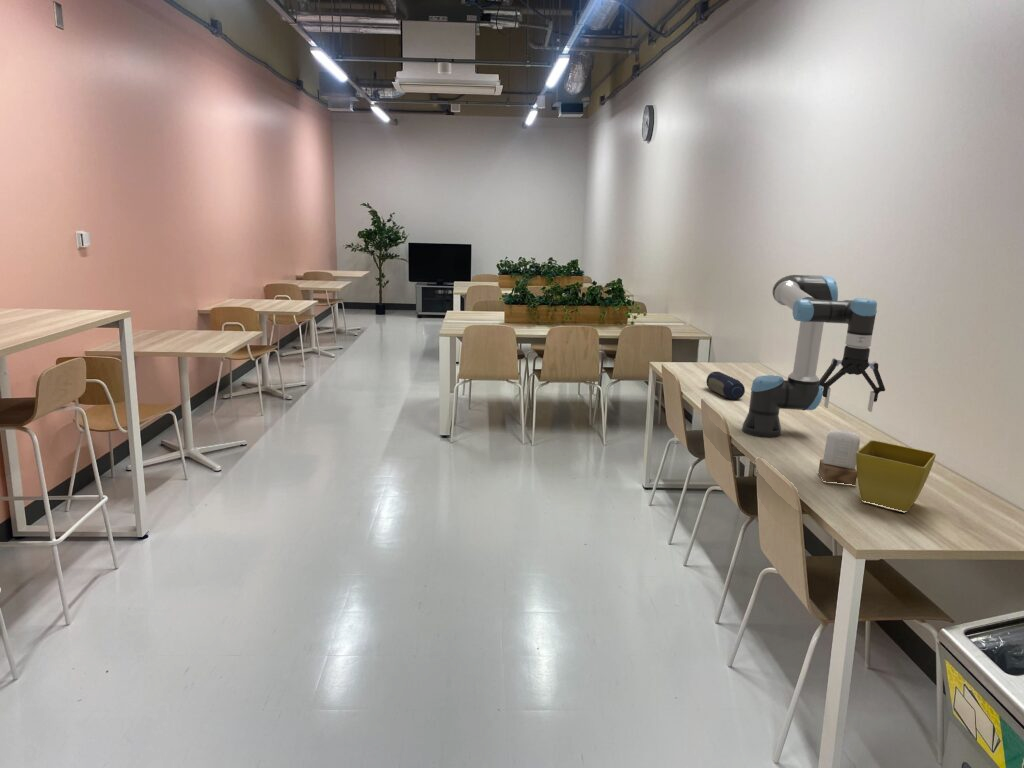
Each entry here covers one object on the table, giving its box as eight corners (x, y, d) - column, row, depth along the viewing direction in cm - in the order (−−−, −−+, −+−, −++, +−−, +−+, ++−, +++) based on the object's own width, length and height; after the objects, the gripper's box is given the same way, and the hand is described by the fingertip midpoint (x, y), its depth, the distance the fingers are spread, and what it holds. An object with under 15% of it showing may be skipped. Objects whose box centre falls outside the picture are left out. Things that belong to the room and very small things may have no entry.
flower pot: (863, 486, 238) (871, 438, 234) (927, 502, 226) (936, 452, 222) (847, 503, 224) (855, 452, 220) (915, 521, 212) (924, 468, 208)
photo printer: (856, 466, 242) (861, 432, 239) (855, 470, 238) (860, 435, 235) (823, 460, 247) (828, 426, 244) (822, 464, 243) (827, 429, 240)
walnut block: (823, 482, 240) (825, 468, 239) (818, 472, 249) (820, 459, 248) (855, 486, 238) (857, 472, 237) (849, 476, 247) (851, 462, 246)
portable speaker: (702, 388, 364) (704, 369, 362) (720, 388, 366) (722, 369, 364) (727, 401, 341) (729, 381, 338) (745, 401, 343) (748, 381, 340)
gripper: (818, 345, 233) (809, 407, 238) (902, 351, 227) (891, 415, 232) (815, 341, 240) (806, 402, 245) (896, 347, 234) (885, 409, 240)
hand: (847, 408), depth 239 cm, fingers open, 13 cm apart
